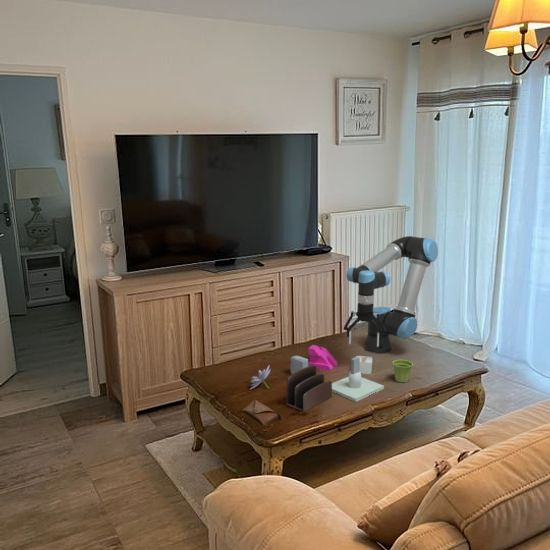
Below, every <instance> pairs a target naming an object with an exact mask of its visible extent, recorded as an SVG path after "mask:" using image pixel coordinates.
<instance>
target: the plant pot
mask: <svg viewBox="0 0 550 550" xmlns="http://www.w3.org/2000/svg"><path fill="white" fill-rule="evenodd" d="M392 365H393V368H394V381H396V382H397V383H407V382H409V379H410V374H411V370H412V368H413V366H414V364H413V362H412V361H409V360H405V359H395V360H393V361H392Z"/></svg>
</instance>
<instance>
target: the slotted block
mask: <svg viewBox="0 0 550 550" xmlns="http://www.w3.org/2000/svg"><path fill="white" fill-rule="evenodd" d="M355 357H359V358H360V364H359V371H360V372H361V373H362V374H363V375H372V371H373V356H363V355H356V356H355ZM362 374H361V375H362Z"/></svg>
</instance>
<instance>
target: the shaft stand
mask: <svg viewBox="0 0 550 550" xmlns="http://www.w3.org/2000/svg"><path fill="white" fill-rule="evenodd" d="M359 364H360V358H359V357H356V356H355V357H353V358H351V361H350V371H349V372H348V376H347V377H346V376H345V377H343V378H342V379H340V380H337V381H334V382H332V393H333V392H334V393H333V394H336V393H337V394H336V395H338V394H339V395H338V396H340V395H341V396H340V397H343V398H345V397H346V399H347V398H348V400H350V401H353V402H355V403H356V402H358V401H361V400H363V399H366V398H367V397H369V395H370V396H371V394H372V395H374V394H376V393H378V392H380V391H382V390H384V389H385V385H383V384H380V383H378V382H376V381H373V380H370V379H368V378H365V377H362V374H361V372H360V371H359ZM375 392H376V393H375ZM373 393H374V394H373Z"/></svg>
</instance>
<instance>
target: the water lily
mask: <svg viewBox="0 0 550 550" xmlns="http://www.w3.org/2000/svg"><path fill="white" fill-rule="evenodd" d="M270 373H271V368H270V364H269V365H268V366H267V367H266V369H265V368H264V369H263V370H260V369H259V370H258V376H252V377H251V383H252V384H249V386H251V387H250V388H249V390H248V391H251V390H252V389H254V388H256V387H258V386H259V385H260V384H261V383H263V384H264V385H265V387H266V388H267V389H268V390H269V389H270V387H269V386H268V385H267V383H266V381H265V379H266V378H268V376H269V375H270Z"/></svg>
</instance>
